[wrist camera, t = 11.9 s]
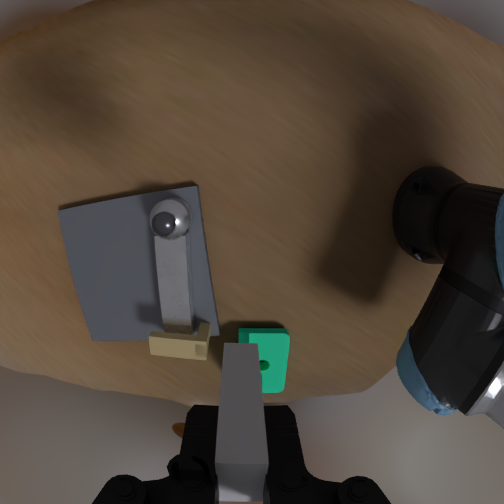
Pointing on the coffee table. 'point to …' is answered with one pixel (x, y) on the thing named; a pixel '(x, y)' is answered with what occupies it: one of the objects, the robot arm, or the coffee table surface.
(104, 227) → the plate
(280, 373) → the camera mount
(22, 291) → the coffee table surface
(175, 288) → the link
